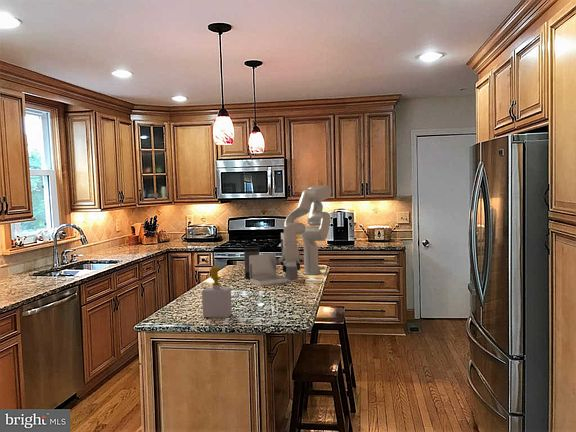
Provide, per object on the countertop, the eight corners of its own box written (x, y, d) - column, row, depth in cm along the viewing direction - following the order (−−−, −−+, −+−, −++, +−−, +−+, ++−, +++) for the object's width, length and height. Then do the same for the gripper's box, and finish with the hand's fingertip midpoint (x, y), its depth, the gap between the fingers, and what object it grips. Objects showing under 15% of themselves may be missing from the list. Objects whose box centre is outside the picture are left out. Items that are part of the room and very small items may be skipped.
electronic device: (260, 278, 319) (259, 247, 318) (259, 279, 313) (258, 248, 312) (246, 278, 320) (245, 247, 319) (244, 279, 314) (243, 248, 313)
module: (292, 277, 313) (291, 265, 312) (297, 279, 307) (297, 266, 306) (285, 278, 311) (285, 266, 310) (290, 280, 304) (290, 267, 304)
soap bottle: (232, 314, 230) (230, 264, 228) (228, 318, 223) (226, 267, 222) (207, 314, 232) (205, 264, 230) (202, 317, 225) (200, 267, 224)
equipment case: (276, 279, 312) (275, 252, 311) (287, 283, 299) (286, 255, 298) (250, 283, 303) (249, 255, 302) (260, 286, 291) (259, 258, 290)
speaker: (282, 266, 363) (281, 231, 361) (296, 266, 362) (295, 230, 360) (281, 268, 352) (280, 232, 351) (295, 268, 351) (294, 232, 350)
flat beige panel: (293, 277, 316) (293, 276, 316) (303, 280, 306) (303, 279, 306) (280, 279, 312) (279, 278, 312) (289, 282, 301) (289, 281, 301)
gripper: (299, 242, 315) (300, 268, 316) (275, 244, 307) (276, 271, 308) (305, 243, 308) (306, 270, 309) (281, 245, 300) (282, 273, 301)
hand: (291, 270), depth 309 cm, fingers open, 9 cm apart
